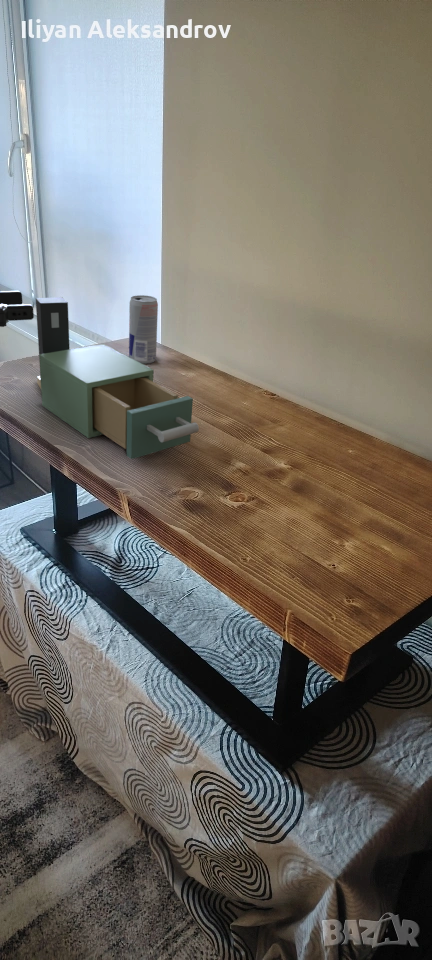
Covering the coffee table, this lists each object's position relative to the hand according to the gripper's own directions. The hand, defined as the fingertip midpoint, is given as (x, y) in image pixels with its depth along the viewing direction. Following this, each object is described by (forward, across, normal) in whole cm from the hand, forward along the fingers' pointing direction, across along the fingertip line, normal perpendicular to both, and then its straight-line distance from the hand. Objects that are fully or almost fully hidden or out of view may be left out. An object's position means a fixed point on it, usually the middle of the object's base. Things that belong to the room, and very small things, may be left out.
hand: (27, 304), depth 99 cm
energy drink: (+24, +10, +15) cm, 30 cm away
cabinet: (+7, -13, +14) cm, 20 cm away
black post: (+4, 0, +14) cm, 15 cm away
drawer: (+11, -25, +13) cm, 30 cm away
